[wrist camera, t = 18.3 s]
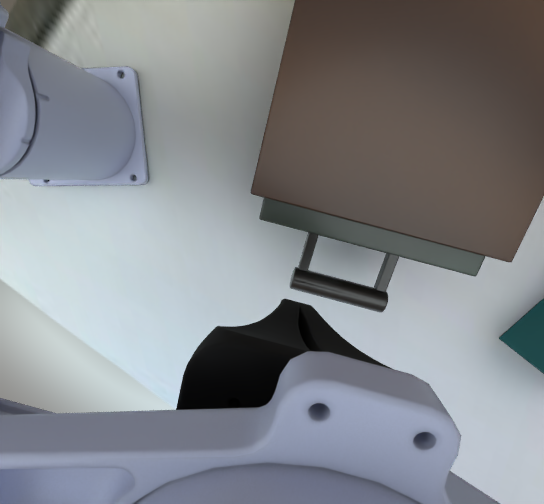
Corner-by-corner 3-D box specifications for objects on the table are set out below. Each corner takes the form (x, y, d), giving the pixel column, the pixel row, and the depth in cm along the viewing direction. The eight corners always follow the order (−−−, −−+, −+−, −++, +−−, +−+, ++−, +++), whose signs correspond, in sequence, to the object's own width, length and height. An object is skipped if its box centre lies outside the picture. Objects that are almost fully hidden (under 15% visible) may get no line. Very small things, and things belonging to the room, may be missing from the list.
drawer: (399, 298, 22) (444, 348, 16) (256, 260, 22) (240, 293, 16) (501, 42, 18) (622, -40, 11) (322, -5, 18) (339, -112, 11)
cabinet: (428, 231, 22) (511, 263, 13) (266, 189, 22) (250, 193, 14) (516, 10, 18) (706, -136, 10) (322, -40, 18) (347, -225, 10)
